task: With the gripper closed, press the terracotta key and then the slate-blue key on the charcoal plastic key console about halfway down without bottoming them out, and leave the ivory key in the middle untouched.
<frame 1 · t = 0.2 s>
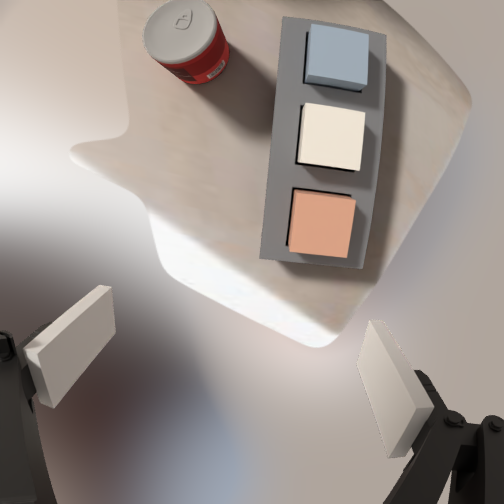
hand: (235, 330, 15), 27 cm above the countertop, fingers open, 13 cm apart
key console: (320, 141, 38), on the countertop
ivory key: (329, 138, 31), point 7 cm above the countertop, slide at 0.0 cm
terracotta key: (319, 221, 34), point 7 cm above the countertop, slide at 0.0 cm
canned food: (201, 58, 35), on the countertop
slate key: (335, 59, 29), point 7 cm above the countertop, slide at 0.0 cm
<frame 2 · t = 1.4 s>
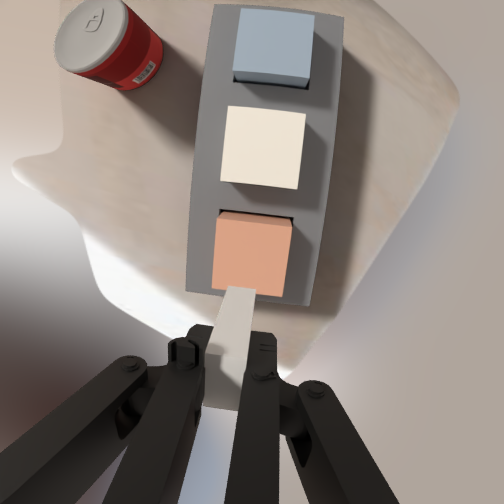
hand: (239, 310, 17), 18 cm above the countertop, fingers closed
key console: (265, 150, 32), on the countertop
ivory key: (263, 147, 26), point 6 cm above the countertop, slide at 0.0 cm
terracotta key: (252, 250, 29), point 6 cm above the countertop, slide at 0.0 cm
canned food: (135, 60, 30), on the countertop
slate key: (274, 50, 23), point 6 cm above the countertop, slide at 0.0 cm
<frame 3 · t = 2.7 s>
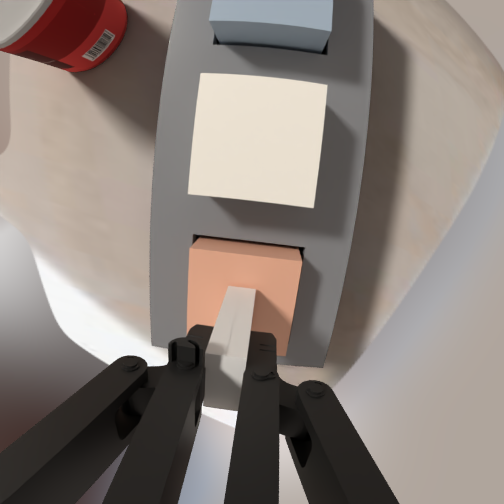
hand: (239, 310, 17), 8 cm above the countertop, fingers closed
key console: (262, 146, 23), on the countertop
ivory key: (259, 140, 17), point 7 cm above the countertop, slide at 0.0 cm
terracotta key: (243, 289, 20), point 5 cm above the countertop, slide at 1.1 cm, touching gripper
canned food: (93, 34, 21), on the countertop
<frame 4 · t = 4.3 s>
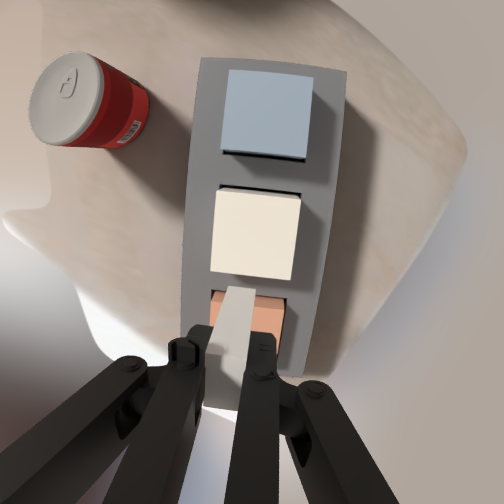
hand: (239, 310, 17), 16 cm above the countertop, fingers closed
key console: (259, 217, 32), on the countertop
ivory key: (255, 229, 26), point 7 cm above the countertop, slide at 0.0 cm
terracotta key: (246, 324, 29), point 5 cm above the countertop, slide at 1.2 cm
canned food: (120, 113, 30), on the countertop
slate key: (267, 116, 23), point 6 cm above the countertop, slide at 0.0 cm
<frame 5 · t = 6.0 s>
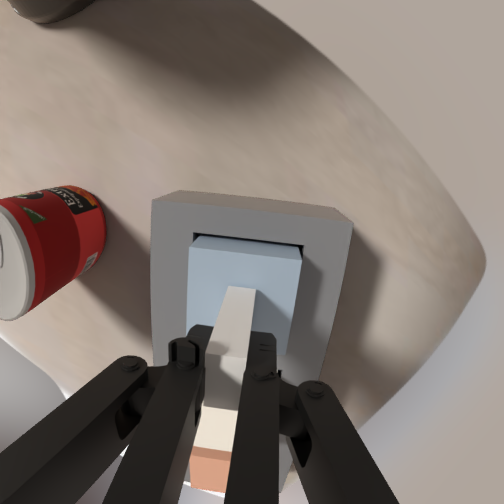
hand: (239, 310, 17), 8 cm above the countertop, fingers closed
key console: (239, 354, 28), on the countertop
ivory key: (231, 402, 22), point 6 cm above the countertop, slide at 0.0 cm
terracotta key: (226, 458, 25), point 5 cm above the countertop, slide at 1.2 cm
canned food: (75, 227, 26), on the countertop
slate key: (243, 288, 20), point 6 cm above the countertop, slide at 0.9 cm, touching gripper
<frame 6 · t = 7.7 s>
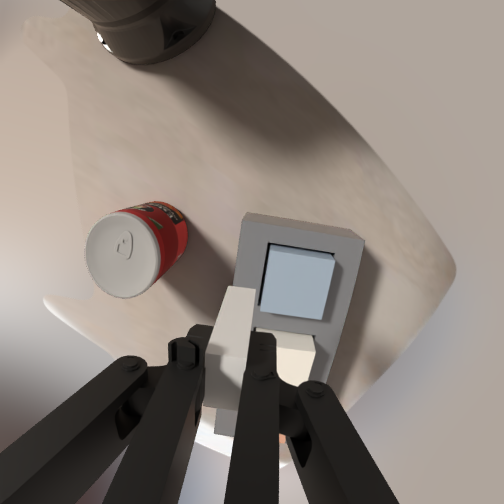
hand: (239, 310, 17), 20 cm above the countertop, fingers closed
key console: (278, 331, 39), on the countertop
ivory key: (279, 359, 33), point 6 cm above the countertop, slide at 0.0 cm
terracotta key: (265, 411, 36), point 5 cm above the countertop, slide at 1.2 cm
canned food: (159, 233, 37), on the countertop
slate key: (295, 278, 32), point 5 cm above the countertop, slide at 1.2 cm
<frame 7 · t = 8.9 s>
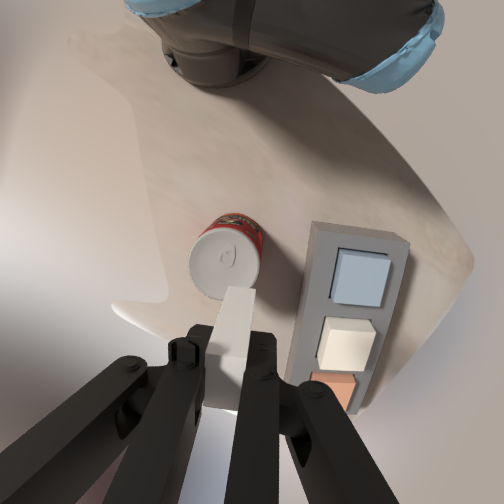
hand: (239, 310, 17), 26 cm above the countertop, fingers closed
key console: (335, 318, 46), on the countertop
ivory key: (344, 341, 40), point 6 cm above the countertop, slide at 0.0 cm
terracotta key: (327, 387, 43), point 5 cm above the countertop, slide at 1.2 cm
canned food: (234, 240, 44), on the countertop
slate key: (357, 274, 38), point 5 cm above the countertop, slide at 1.2 cm
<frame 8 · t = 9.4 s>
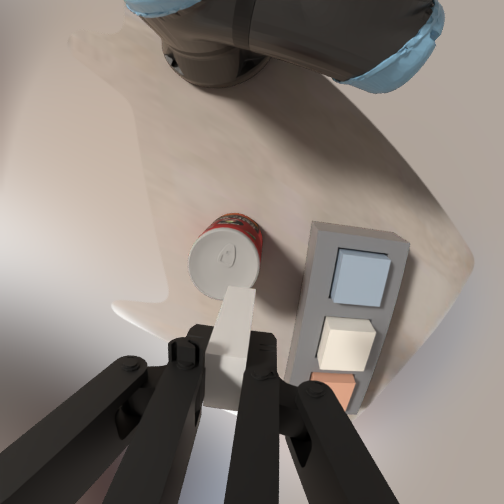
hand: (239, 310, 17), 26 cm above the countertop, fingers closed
key console: (335, 318, 46), on the countertop
ivory key: (344, 341, 40), point 6 cm above the countertop, slide at 0.0 cm
terracotta key: (327, 387, 43), point 5 cm above the countertop, slide at 1.2 cm
canned food: (234, 240, 44), on the countertop
slate key: (357, 274, 38), point 5 cm above the countertop, slide at 1.2 cm
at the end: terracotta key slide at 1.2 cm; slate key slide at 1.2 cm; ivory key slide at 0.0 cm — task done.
